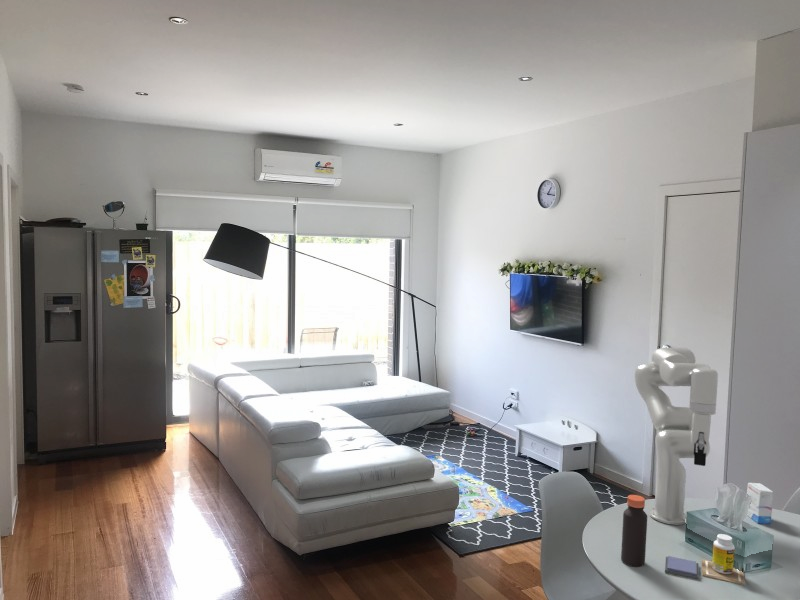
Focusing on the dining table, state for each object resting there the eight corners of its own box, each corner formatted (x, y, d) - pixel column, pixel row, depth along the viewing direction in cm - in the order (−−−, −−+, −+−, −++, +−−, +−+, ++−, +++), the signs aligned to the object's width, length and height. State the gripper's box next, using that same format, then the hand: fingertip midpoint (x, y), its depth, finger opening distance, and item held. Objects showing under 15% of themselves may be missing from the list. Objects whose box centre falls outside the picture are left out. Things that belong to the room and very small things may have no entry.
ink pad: (665, 559, 191) (666, 554, 191) (698, 566, 187) (698, 561, 187) (664, 572, 183) (665, 567, 183) (698, 580, 179) (699, 575, 179)
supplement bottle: (726, 577, 180) (728, 542, 180) (708, 568, 185) (710, 535, 184) (736, 571, 184) (739, 538, 183) (718, 563, 188) (720, 531, 187)
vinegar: (630, 554, 194) (633, 491, 192) (649, 563, 188) (653, 499, 186) (616, 559, 190) (619, 496, 188) (635, 569, 184) (639, 504, 183)
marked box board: (701, 559, 191) (701, 558, 191) (742, 567, 187) (742, 566, 187) (702, 576, 181) (702, 574, 181) (745, 585, 177) (745, 583, 177)
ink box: (772, 524, 218) (774, 491, 217) (757, 523, 218) (759, 491, 217) (758, 513, 226) (760, 482, 225) (744, 513, 226) (746, 481, 225)
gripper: (689, 400, 206) (686, 450, 207) (689, 412, 190) (686, 466, 191) (714, 402, 202) (711, 454, 204) (717, 415, 187) (713, 470, 188)
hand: (699, 460), depth 198 cm, fingers open, 9 cm apart
